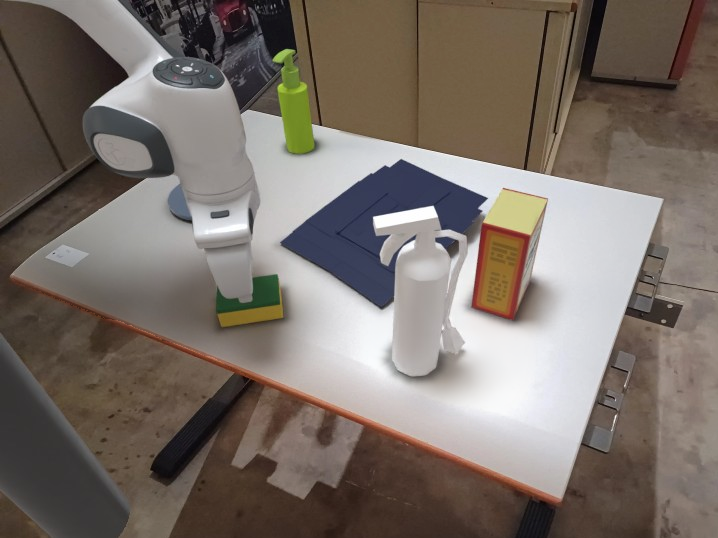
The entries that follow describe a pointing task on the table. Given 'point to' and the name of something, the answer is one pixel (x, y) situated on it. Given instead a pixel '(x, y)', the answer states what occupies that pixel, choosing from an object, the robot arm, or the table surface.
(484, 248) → the baking soda box
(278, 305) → the sponge
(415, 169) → the folded navy cloth
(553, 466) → the table surface
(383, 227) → the fire extinguisher
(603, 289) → the table surface
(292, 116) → the soap dispenser
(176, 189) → the plate
